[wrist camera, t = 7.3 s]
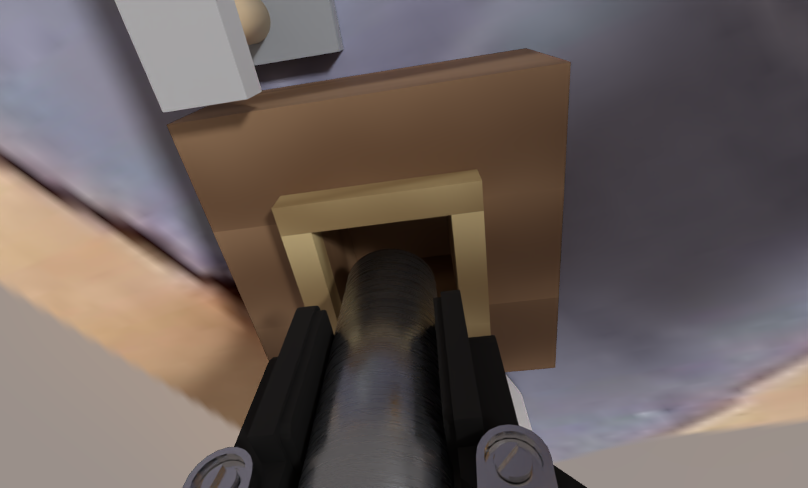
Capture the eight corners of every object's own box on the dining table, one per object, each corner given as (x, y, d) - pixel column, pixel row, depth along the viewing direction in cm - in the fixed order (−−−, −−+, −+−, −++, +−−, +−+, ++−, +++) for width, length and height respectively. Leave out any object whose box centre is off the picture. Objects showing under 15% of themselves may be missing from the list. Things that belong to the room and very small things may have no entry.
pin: (338, 254, 13) (193, 736, 4) (430, 243, 13) (473, 732, 4) (357, 325, 14) (277, 790, 6) (440, 316, 14) (486, 790, 6)
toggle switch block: (230, 95, 17) (147, 133, 11) (525, 48, 16) (584, 65, 10) (307, 319, 22) (276, 411, 17) (526, 295, 21) (562, 386, 16)
